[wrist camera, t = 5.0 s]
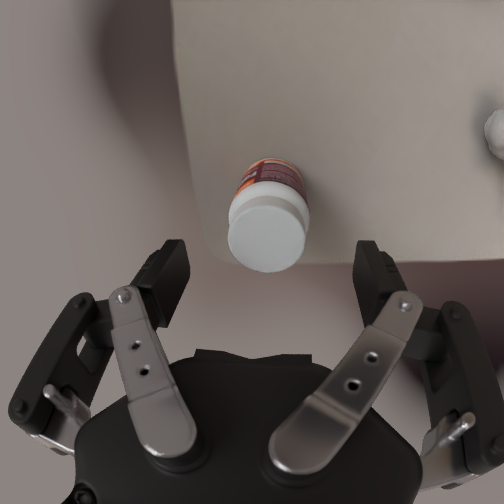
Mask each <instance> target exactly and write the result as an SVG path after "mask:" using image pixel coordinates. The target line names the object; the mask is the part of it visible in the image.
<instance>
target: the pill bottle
mask: <svg viewBox="0 0 504 504" xmlns="http://www.w3.org/2000/svg"><path fill="white" fill-rule="evenodd" d="M309 224H310V213H309V209H308V204H307V199H306V193H305V187H304V183H303V179H302V177H301V175H300V173H299V171H298V170H297V169H296V168H295V167H294V166H293V165H292V164H290V163H289V162H287V161H285V160H282V159H278V158H266V159H262V160H260V161H257V162H256V163H254V164H253V165H251V166H250V167H249V168H248V170H247V171H246V173H245V175H244V177H243V179H242V181H241V183H240V185H239V187H238V189H237V192H236V194H235V197H234V199H233V201H232V203H231V207H230V209H229V225H230V227H229V230H228V244H229V248H230V250H231V252H232V254H233V255H234V257H235V258H236V259H237V260H238V261H239V262H240V263H241V264H242V265H244V266H245V267H247V268H249V269H252V270H255V271H258V272H263V273H272V272H278V271H282V270H285V269H287V268H289V267H291V266H292V265H293V264H295V263H296V262H297V261H298V260H299V258H300V257H301V255H302V254H303V251H304V249H305V245H306V235H307V232H308V229H309Z"/></svg>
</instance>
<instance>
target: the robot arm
mask: <svg viewBox="0 0 504 504" xmlns="http://www.w3.org/2000/svg"><path fill="white" fill-rule="evenodd" d="M189 278H190V264H189V260H188V256H187V251H186V247H185V243H184V241H183V240H182V239H179V240H177V239H176V240H167V241H166V242H165V243H164V245H163V246H162V248H161V249H160V250H157V251H155V252H154V253H153V254H151V255H150V256H149V258H148V259H147V260H146V262H145V264H144V265H143V266H142V267H141V269H140V270H139V272H138V273H137V275H136V276H135V278H134V279H133V281H132V282H131V283H130V285H128V286H123V287H120V288H118V289H116V290H115V291H114V292H113V293H112V294H111V295H110V297H109V299H107V300H101V301H95V300H94V298H93V296H92V294H90V293H87V292H85V293H80V294H78V295H76V296H74V297H73V298H72V299H71V300H70V301H69V302H68V303H67V305H66V306H65V308H64V309H63V311H62V312H61V314H60V315H59V317H58V318H57V320H56V321H55V323H54V324H53V326H52V328H51V329H50V331H49V332H48V334H47V335H46V337H45V339H44V340H43V342H42V343H41V345H40V347H39V348H38V350H37V352H36V354H35V355H34V357H33V359H32V360H31V362H30V364H29V366H28V368H27V370H26V371H25V373H24V375H23V377H22V379H21V381H20V383H19V385H18V387H17V388H16V390H15V392H14V395H13V397H12V399H11V401H10V403H9V408H8V413H9V417H10V419H11V421H13V422H14V423H15V424H16V425H17V426H19V427H20V428H21V429H23V430H24V431H25V432H26V433H27V434H28V435H29V436H31V437H32V438H33V439H35V440H36V441H38V442H39V443H41V444H42V445H44V446H45V447H48V448H50V449H51V450H53V451H54V452H56V453H58V454H60V455H68V454H69V455H72V456H74V457H75V467H76V476H75V485H74V488H73V490H72V492H71V494H70V495H69V496H68V497H67V498H66V500H65V501H64V502H62V503H61V504H413V502H414V499H415V497H416V495H417V493H418V492H422V491H426V490H430V489H434V488H437V487H441V488H443V489H452V488H455V487H457V486H460V485H462V484H464V483H466V482H469V481H471V480H473V479H475V478H477V477H479V476H481V475H483V474H485V473H487V472H489V471H491V470H493V469H494V468H496V467H498V466H500V465H501V464H503V463H504V400H503V397H502V394H501V390H500V387H499V384H498V381H497V378H496V375H495V372H494V369H493V367H492V364H491V361H490V358H489V355H488V353H487V351H486V348H485V345H484V343H483V341H482V338H481V336H480V334H479V331H478V329H477V327H476V325H475V323H474V320H473V318H472V316H471V314H470V312H469V310H468V309H467V308H466V307H465V306H464V305H462V304H461V303H459V302H455V301H448V302H445V303H444V304H443V306H442V308H441V310H438V309H432V308H428V307H425V306H423V304H422V301H421V299H420V298H419V297H418V296H417V295H415V294H413V293H411V292H408V290H407V288H406V286H405V283H404V281H403V279H402V278H401V275H400V273H399V271H398V269H397V267H396V265H395V263H394V261H393V259H392V257H390V256H389V255H388V254H387V253H386V252H385V251H379V249H378V247H377V245H376V243H375V241H369V240H359V241H358V242H357V246H356V253H355V259H354V265H353V283H354V287H355V291H356V295H357V299H358V303H359V307H360V311H361V315H362V319H363V323H364V328H365V329H364V331H363V332H362V333H361V335H360V336H359V337H358V339H357V340H356V342H355V343H354V344H353V345H352V347H351V348H350V349H349V351H348V352H347V354H346V355H345V356H344V357H343V359H342V360H341V361H340V363H339V364H338V365H337V366H336V367H335V369H334V370H333V371H332V370H331V369H329V368H326V367H324V366H322V365H318V364H315V363H312V355H311V354H305V355H304V354H302V355H301V354H295V355H294V354H281V355H275V356H270V357H264V358H257V359H248V358H245V357H241V356H238V355H234V354H231V353H228V352H224V351H215V350H203V349H196V351H195V354H194V357H190V358H185V359H182V360H178V361H176V362H174V363H172V364H169V361H168V359H167V357H166V354H165V352H164V350H163V348H162V345H161V343H160V340H159V338H158V336H157V333H156V330H157V328H158V327H163V328H167V327H168V325H169V323H170V321H171V318H172V316H173V314H174V311H175V309H176V307H177V305H178V303H179V300H180V298H181V296H182V294H183V292H184V289H185V287H186V285H187V283H188V281H189ZM82 336H84V338H85V339H86V343H85V345H84V347H83V349H82V350H81V353H80V355H79V356H78V355H77V345H78V343H79V342H80V340H81V338H82ZM114 349H115V353H116V357H117V361H118V365H119V369H120V373H121V377H122V380H123V384H124V387H125V390H126V395H125V396H123V397H122V398H120V399H119V400H118V401H116V402H115V403H113V404H112V405H110V406H109V407H107V408H106V409H104V410H103V411H101V412H100V413H98V414H96V415H95V416H93V417H92V418H91V412H90V409H89V407H90V405H91V402H92V400H93V397H94V395H95V392H96V390H97V388H98V385H99V383H100V380H101V378H102V376H103V373H104V371H105V369H106V366H107V364H108V362H109V359H110V357H111V355H112V353H113V351H114ZM400 356H403V357H408V358H413V359H418V360H419V363H420V368H421V373H422V377H423V382H424V387H425V392H426V397H427V403H428V409H429V415H430V422H431V429H430V430H429V431H428V432H427V433H426V435H425V436H424V439H423V446H422V452H421V455H420V456H419V455H418V453H417V452H416V450H415V449H414V448H413V447H412V446H411V445H410V444H409V443H408V442H407V441H406V440H405V439H404V438H403V437H402V436H401V435H400V434H399V433H398V432H397V431H396V430H395V429H394V428H392V427H391V426H390V425H389V424H388V423H387V422H386V421H385V420H384V419H383V418H382V417H381V416H380V415H379V414H378V413H377V412H376V411H375V410H374V409H373V408H372V407H371V406H372V404H373V403H374V401H375V399H376V398H377V396H378V394H379V393H380V391H381V390H382V388H383V386H384V384H385V383H386V381H387V380H388V378H389V376H390V374H391V373H392V371H393V369H394V367H395V366H396V364H397V362H398V360H399V358H400Z"/></svg>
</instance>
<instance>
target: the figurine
mask: <svg viewBox="0 0 504 504" xmlns="http://www.w3.org/2000/svg"><path fill="white" fill-rule="evenodd" d="M484 134H485V138H486V140H487V142H488V146H489V149H490V150H491V152H492V153H493V154H494V155H495V156H496V157H498V158H499V159H501V160H502V161H504V109H498V110H495V111H494V112H493V114H492V116H490V117H489V118H488V119H487V121H486V123H485V126H484Z"/></svg>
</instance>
